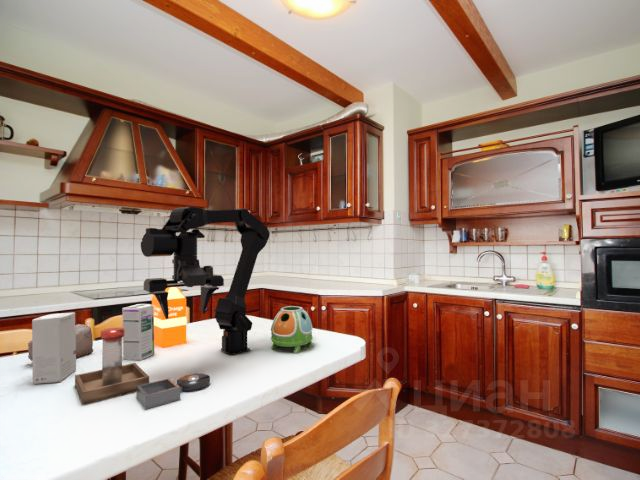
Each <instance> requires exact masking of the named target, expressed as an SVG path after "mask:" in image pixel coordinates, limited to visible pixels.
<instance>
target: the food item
mask: <svg viewBox="0 0 640 480" xmlns="http://www.w3.org/2000/svg"><path fill="white" fill-rule="evenodd" d="M75 332H76V358H79V356H80V357H83V356H86V355H88V354H92V353H93V352H94V349H93V346H94V343H93V342H94V341H93V332H92V328H91V326H89V325H87V324H82V323H81V324H77V325H76V324H75ZM27 347H28V350H27V351H28V355H27V356H28V359H29V360H30V361H31V362H33V356H32V340H30V341H29V342H27Z"/></svg>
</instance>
